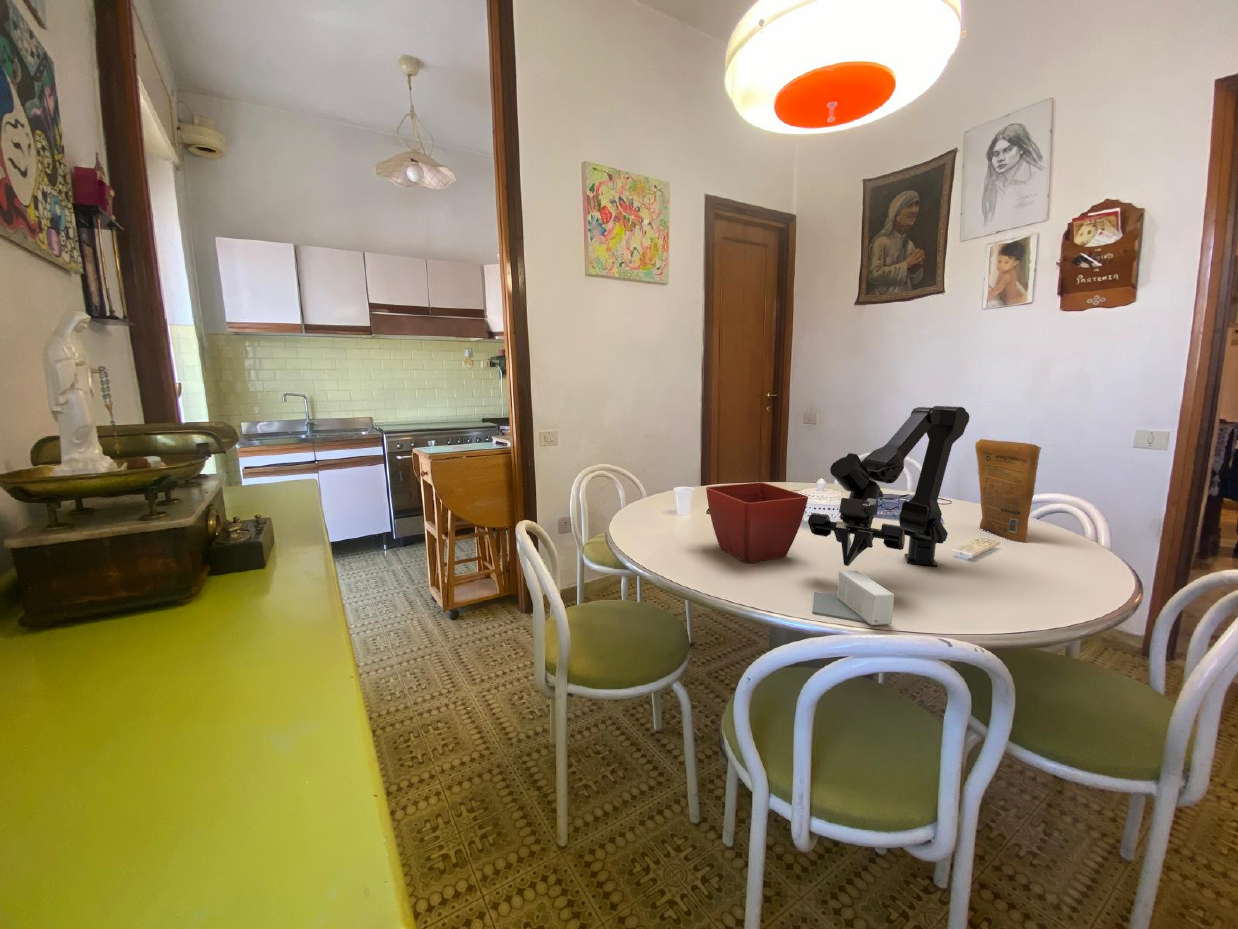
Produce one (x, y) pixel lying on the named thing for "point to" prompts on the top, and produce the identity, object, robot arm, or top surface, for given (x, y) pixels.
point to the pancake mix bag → (1006, 486)
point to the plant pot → (755, 519)
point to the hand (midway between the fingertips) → (845, 564)
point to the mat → (833, 607)
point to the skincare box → (865, 597)
